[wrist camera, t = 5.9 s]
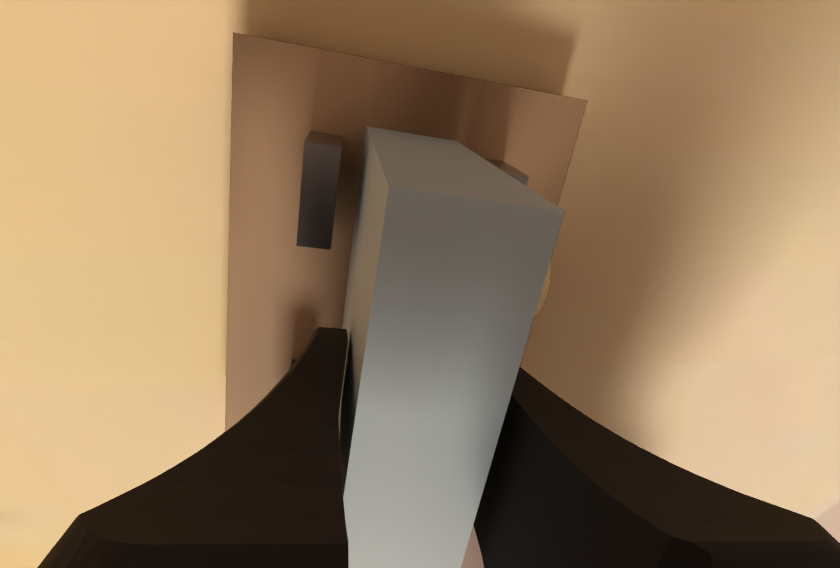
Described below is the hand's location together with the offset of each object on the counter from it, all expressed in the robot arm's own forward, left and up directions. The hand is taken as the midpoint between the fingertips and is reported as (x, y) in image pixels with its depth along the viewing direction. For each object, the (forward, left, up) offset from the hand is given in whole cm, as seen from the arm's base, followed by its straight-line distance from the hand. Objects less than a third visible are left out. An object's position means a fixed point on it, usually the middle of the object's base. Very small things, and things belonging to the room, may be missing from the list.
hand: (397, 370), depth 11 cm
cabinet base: (0, 0, -5) cm, 5 cm away
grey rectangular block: (0, 0, -4) cm, 4 cm away
